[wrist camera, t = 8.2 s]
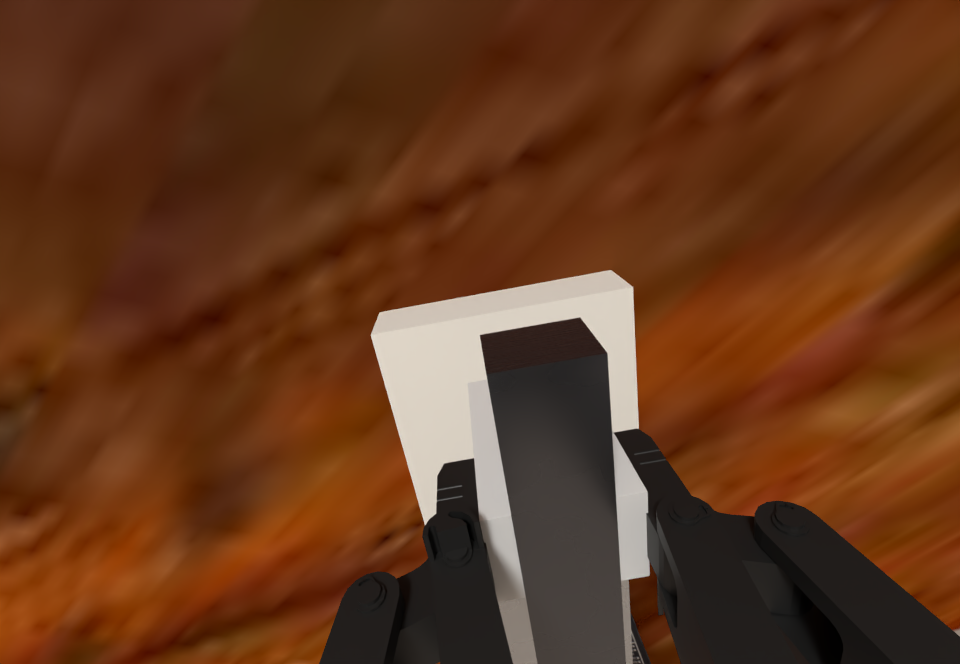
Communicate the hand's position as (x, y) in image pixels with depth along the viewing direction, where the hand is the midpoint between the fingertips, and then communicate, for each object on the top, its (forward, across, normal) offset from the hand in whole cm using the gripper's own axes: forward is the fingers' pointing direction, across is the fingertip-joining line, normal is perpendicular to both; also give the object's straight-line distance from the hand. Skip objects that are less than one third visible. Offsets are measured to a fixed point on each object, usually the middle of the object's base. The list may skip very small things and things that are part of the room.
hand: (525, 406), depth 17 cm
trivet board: (+8, 0, +6) cm, 10 cm away
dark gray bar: (-1, 0, +7) cm, 7 cm away
